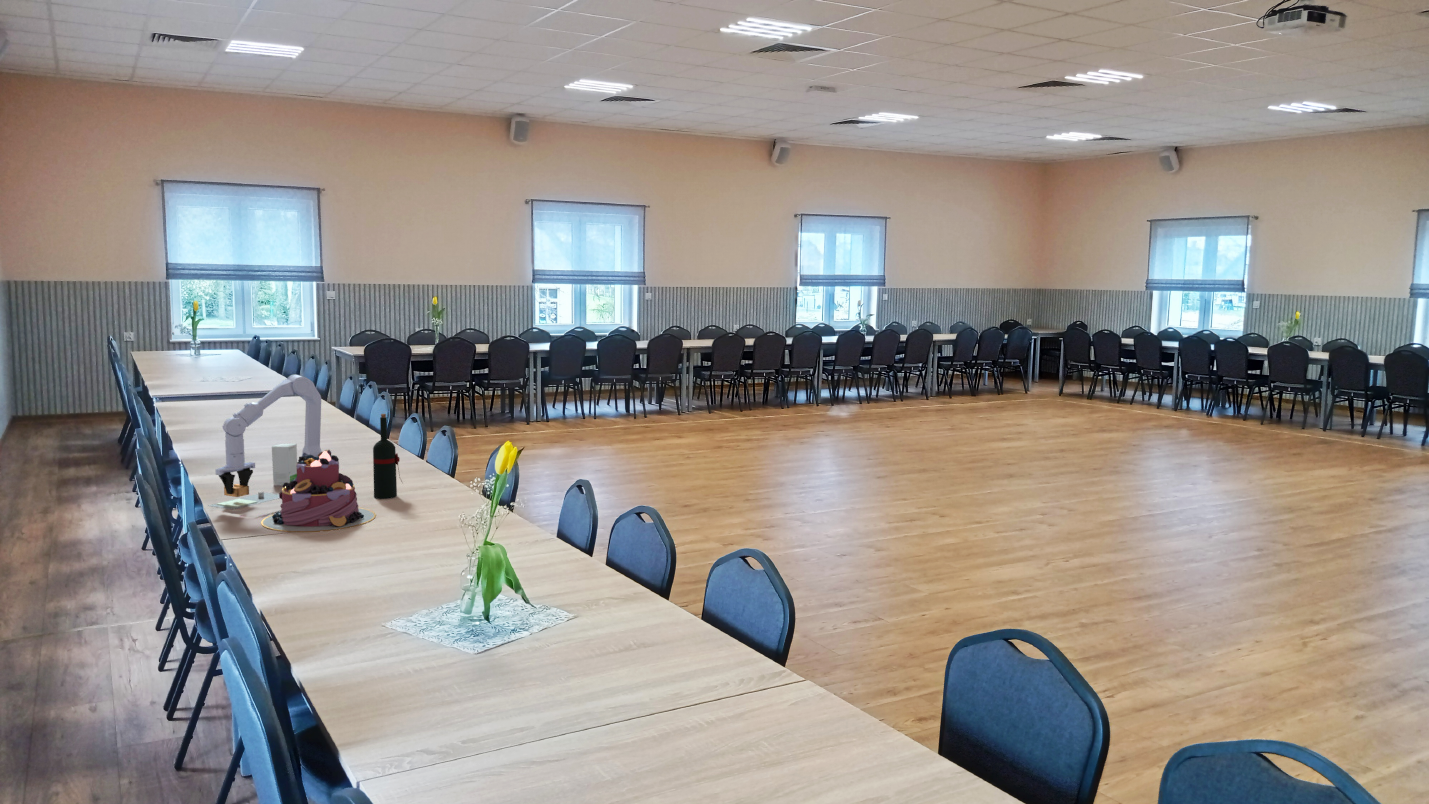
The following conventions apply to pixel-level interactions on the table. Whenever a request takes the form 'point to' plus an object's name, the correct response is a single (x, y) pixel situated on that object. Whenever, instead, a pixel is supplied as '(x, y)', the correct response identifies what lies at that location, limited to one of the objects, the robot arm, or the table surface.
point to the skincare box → (284, 463)
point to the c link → (238, 490)
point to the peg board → (247, 501)
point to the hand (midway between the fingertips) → (236, 492)
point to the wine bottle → (385, 465)
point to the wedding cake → (318, 499)
